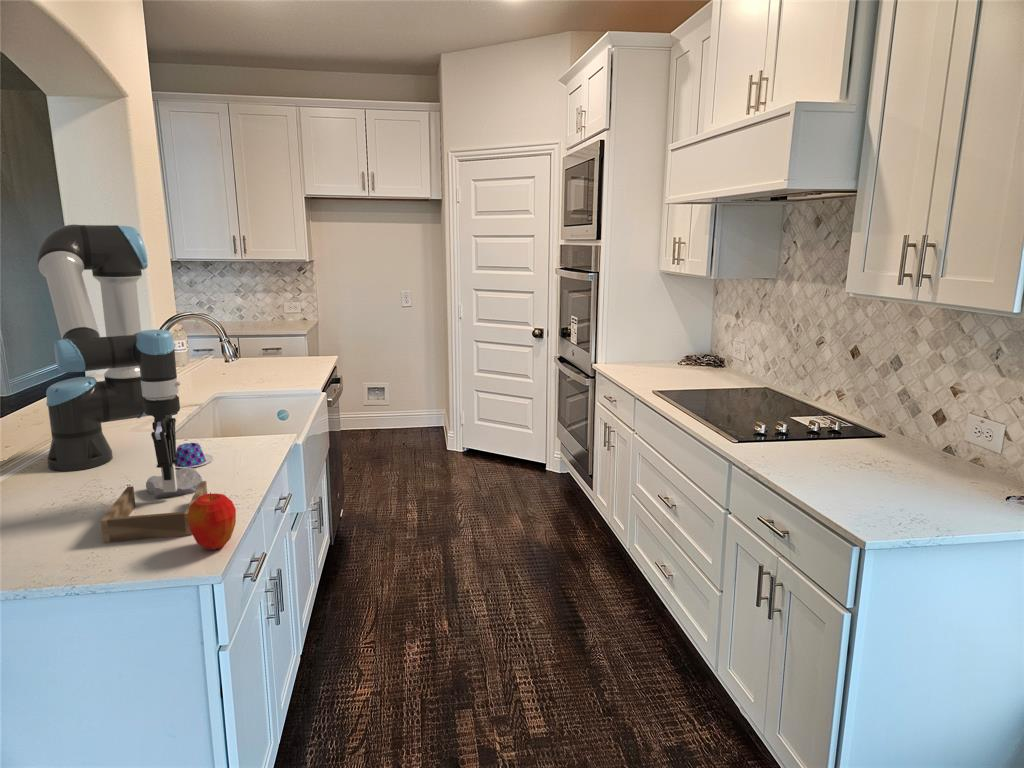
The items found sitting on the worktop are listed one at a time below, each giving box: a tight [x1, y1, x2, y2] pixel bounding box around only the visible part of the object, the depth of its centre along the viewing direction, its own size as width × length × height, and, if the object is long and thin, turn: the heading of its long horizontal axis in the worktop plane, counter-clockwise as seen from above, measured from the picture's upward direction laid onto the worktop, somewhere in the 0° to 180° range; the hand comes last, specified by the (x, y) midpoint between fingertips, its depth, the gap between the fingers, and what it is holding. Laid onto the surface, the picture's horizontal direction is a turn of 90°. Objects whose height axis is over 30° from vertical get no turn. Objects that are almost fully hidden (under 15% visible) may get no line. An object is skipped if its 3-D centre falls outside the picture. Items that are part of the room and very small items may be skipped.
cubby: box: [100, 480, 208, 544], centre depth 147 cm, size 19×17×5 cm
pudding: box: [173, 442, 214, 469], centre depth 184 cm, size 12×12×5 cm
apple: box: [187, 492, 237, 550], centre depth 134 cm, size 9×9×12 cm
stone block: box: [145, 467, 204, 499], centre depth 164 cm, size 12×5×10 cm
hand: (170, 490), depth 158 cm, fingers closed
